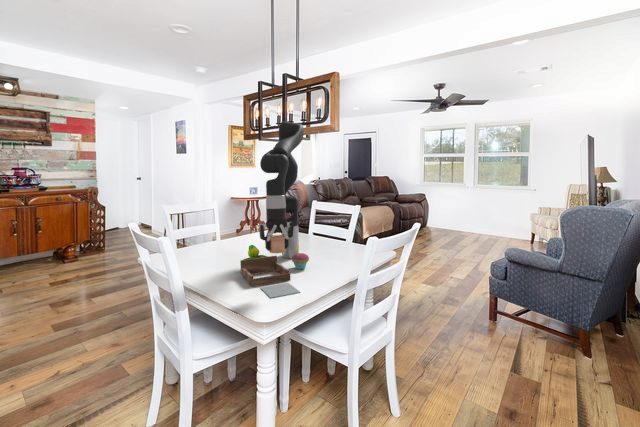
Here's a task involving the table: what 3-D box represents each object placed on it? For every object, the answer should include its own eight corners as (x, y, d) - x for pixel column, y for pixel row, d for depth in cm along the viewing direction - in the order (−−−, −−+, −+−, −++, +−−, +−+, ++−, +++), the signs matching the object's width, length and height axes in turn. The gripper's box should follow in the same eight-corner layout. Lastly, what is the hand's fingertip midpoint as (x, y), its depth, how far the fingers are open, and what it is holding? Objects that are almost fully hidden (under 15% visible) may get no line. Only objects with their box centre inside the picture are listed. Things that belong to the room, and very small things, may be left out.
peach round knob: (266, 250, 132) (265, 235, 132) (282, 249, 135) (281, 234, 135) (272, 254, 127) (271, 238, 126) (288, 252, 130) (287, 236, 129)
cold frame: (241, 275, 152) (240, 260, 151) (276, 269, 159) (276, 255, 158) (251, 286, 137) (251, 270, 136) (290, 280, 145) (290, 264, 144)
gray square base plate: (260, 288, 135) (260, 287, 135) (288, 283, 140) (288, 282, 140) (270, 298, 124) (270, 297, 124) (300, 292, 130) (300, 291, 130)
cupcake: (288, 269, 160) (288, 244, 159) (296, 264, 168) (295, 241, 166) (305, 271, 157) (304, 246, 155) (312, 266, 165) (311, 242, 163)
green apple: (252, 272, 155) (251, 249, 154) (241, 269, 161) (240, 246, 160) (271, 267, 164) (270, 244, 162) (260, 264, 170) (259, 242, 168)
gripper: (289, 205, 136) (290, 245, 138) (254, 207, 129) (256, 249, 131) (297, 206, 129) (297, 249, 131) (260, 208, 122) (262, 253, 124)
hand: (277, 249), depth 131 cm, fingers closed on peach round knob, 6 cm apart
